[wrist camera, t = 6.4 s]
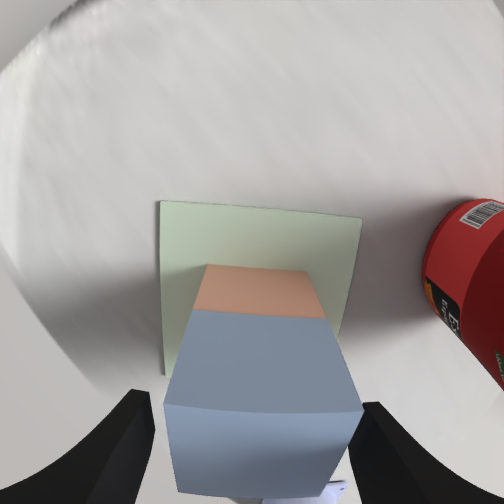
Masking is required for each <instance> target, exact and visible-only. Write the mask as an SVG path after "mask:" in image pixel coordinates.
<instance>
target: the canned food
mask: <svg viewBox="0 0 504 504" xmlns="http://www.w3.org/2000/svg"><path fill="white" fill-rule="evenodd" d="M422 281H423V288H424V291H425V293H426V296H427V299H428V302H429V304H430V306H431V307H432V309H433V310H434V312H435V313H436V314H437V315H438V316H439V317H440V318H441V319H442V320H443V321H444V323H445V324H446V325H447V326H448V327H449V328H450V329H451V330H452V331H453V332H454V333H455V335H456V336H457V337H458V338H459V339H460V340H461V341H462V342H463V343H464V345H465V346H466V347H467V348H468V349H469V350H470V351H471V353H472V354H473V355H474V356H475V357H476V358H477V359H478V361H479V362H480V363H481V364H482V365H483V366H484V368H485V369H486V370H487V371H488V372H489V374H490V375H491V376H492V377H493V378H494V380H495V381H496V382H497V383H498V385H499V386H500V387H501V388H502V390H503V391H504V203H502V202H498V201H495V200H492V199H477V200H472V201H467V202H465V203H463V204H460V205H458V206H457V207H456V208H454V209H453V210H452V211H450V212H449V213H448V214H447V215H446V217H445V218H444V219H443V220H442V221H441V222H440V224H439V225H438V227H437V228H436V230H435V231H434V233H433V235H432V237H431V239H430V241H429V244H428V247H427V250H426V252H425V256H424V261H423V266H422Z"/></svg>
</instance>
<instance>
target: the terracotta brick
mask: <svg viewBox="0 0 504 504" xmlns="http://www.w3.org/2000/svg"><path fill="white" fill-rule="evenodd" d="M193 310H203V311H214V312H225V313H238V314H251V315H265V316H281V317H299V318H320V319H326V316H325V314H324V311H323V309H322V307H321V304H320V302H319V299H318V297H317V295H316V292H315V290H314V288H313V285H312V283H311V281H310V278H309V276H308V274H307V272H302V271H289V270H276V269H263V268H251V267H239V266H226V265H215V264H208V265H207V268H206V271H205V274H204V277H203V280H202V283H201V286H200V289H199V292H198V295H197V298H196V301H195V304H194V307H193Z"/></svg>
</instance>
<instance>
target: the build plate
mask: <svg viewBox="0 0 504 504" xmlns="http://www.w3.org/2000/svg"><path fill="white" fill-rule="evenodd" d="M362 222H363V219H361V218H355V217H346V216H338V215H329V214H320V213H311V212H301V211H291V210H281V209H270V208H259V207H248V206H236V205H223V204H210V203H196V202H180V201H163V200H162V201H160V292H161V317H162V335H163V350H164V363H165V375H166V379H171V376H172V373H173V369H174V366H175V363H176V360H177V356H178V353H179V350H180V347H181V344H182V340H183V337H184V334H185V331H186V328H187V325H188V322H189V318H190V315H191V312H192V309H193V307H194V304H195V301H196V298H197V295H198V292H199V289H200V286H201V283H202V280H203V277H204V274H205V271H206V268H207V265H208V264H215V265H226V266H239V267H251V268H263V269H276V270H289V271H302V272H307V274H308V276H309V278H310V281H311V283H312V285H313V288H314V290H315V292H316V295H317V297H318V299H319V302H320V304H321V307H322V309H323V311H324V314H325V316H326V319H328V321H329V323H330V326H331V328H332V331H333V333H334V336H335V338H336V340H337V338H338V334H339V330H340V326H341V322H342V318H343V314H344V310H345V306H346V302H347V297H348V293H349V288H350V284H351V279H352V275H353V270H354V265H355V260H356V255H357V250H358V245H359V239H360V234H361V228H362Z"/></svg>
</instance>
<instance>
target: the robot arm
mask: <svg viewBox="0 0 504 504" xmlns="http://www.w3.org/2000/svg"><path fill="white" fill-rule="evenodd" d="M362 406H363V409H364V413H363V415H362V417H361V419H360V422H359V424H358V426H357V428H356V430H355V432H354V434H353V436H352V438H351V440H350V442H349V444H348V450H349V457H350V463H351V466H352V470H353V473H354V477H355V480H356V484H357V487H358V491H359V494H360V498H361V501H362V504H504V498H502V497H499V496H497V495H494V494H492V493H489V492H487V491H485V490H483V489H481V488H479V487H477V486H475V485H473V484H472V483H470V482H468V481H466V480H464V479H463V478H461V477H460V476H458V475H457V474H455V473H454V472H453V471H451V470H450V469H448V468H447V467H446V466H444V465H443V464H442V463H440V462H439V461H438V460H437V459H436V458H434V457H433V456H432V455H431V454H430V453H429V452H428V451H426V450H425V449H424V448H423V447H422V446H421V445H420V444H419V443H418V442H417V441H416V440H415V439H414V438H413V437H412V436H411V435H410V434H409V433H408V432H407V431H406V430H405V429H404V428H403V427H402V426H401V425H400V424H399V423H398V422H397V421H396V419H395V418H394V417H393V416H392V415H391V414H390V413H389V412H388V411H387V410H386V409H385V408H384V407H383V406H382V405H381V404H380V402H379V401H378V402H365V403H363V404H362ZM154 434H155V425H154V419H153V413H152V407H151V401H150V395H149V392H146V391H141V390H135V389H131V390H130V391H129V392H128V393H127V394H126V395H125V396H124V397H123V399H122V400H121V401H120V402H119V403H118V404H117V405H116V406H115V408H114V409H113V410H112V411H111V412H110V413H109V414H108V415H107V416H106V417H105V418H104V419H103V420H102V421H101V422H100V423H99V424H98V425H97V426H96V427H95V428H94V429H93V430H92V431H91V432H90V433H89V434H88V435H87V436H86V437H85V438H83V439H82V440H81V441H80V442H79V443H78V444H77V445H76V446H74V447H73V448H72V449H71V450H69V451H68V452H67V453H66V454H64V455H63V456H62V457H60V458H59V459H58V460H56V461H55V462H53V463H52V464H50V465H49V466H47V467H45V468H44V469H42V470H41V471H39V472H37V473H36V474H34V475H32V476H30V477H28V478H27V479H24V480H22V481H20V482H18V483H16V484H13V485H11V486H9V487H7V488H4V489H1V490H0V504H135V501H136V498H137V495H138V492H139V488H140V485H141V482H142V479H143V476H144V473H145V470H146V467H147V464H148V460H149V457H150V454H151V450H152V445H153V439H154ZM347 487H348V482H336V483H327V485H326V487H325V488H324V490H323V492H322V493H321V495H320V497H310V498H290V499H263V500H262V503H261V504H337V501H338V500H339V498H340V497H341V496H342V494H343V493H344V491H345V490H346V488H347Z"/></svg>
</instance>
